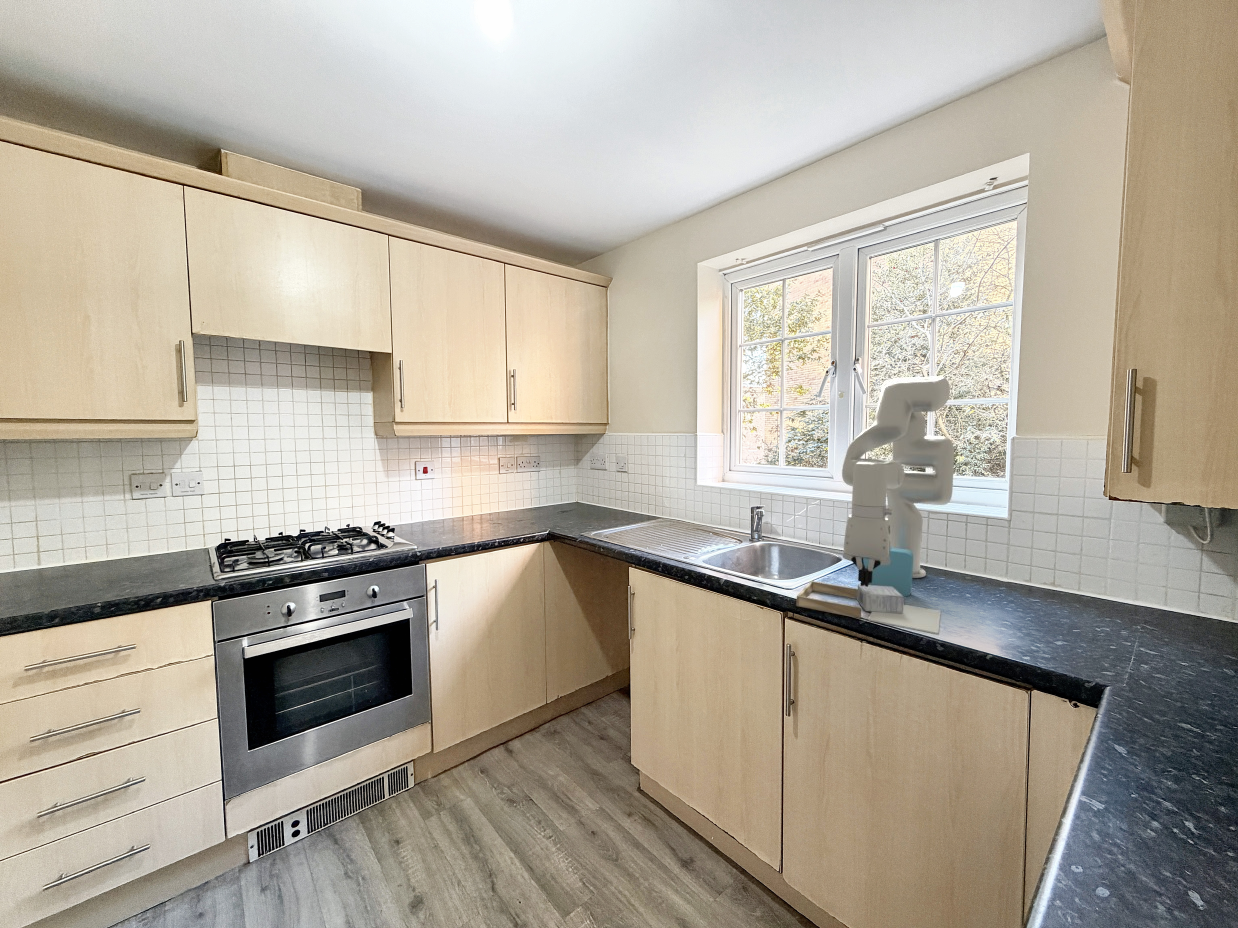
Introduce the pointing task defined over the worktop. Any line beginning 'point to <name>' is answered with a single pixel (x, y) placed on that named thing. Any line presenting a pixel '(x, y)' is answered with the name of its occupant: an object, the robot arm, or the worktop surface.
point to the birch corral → (827, 605)
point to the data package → (895, 571)
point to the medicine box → (880, 599)
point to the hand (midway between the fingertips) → (864, 584)
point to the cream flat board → (910, 618)
